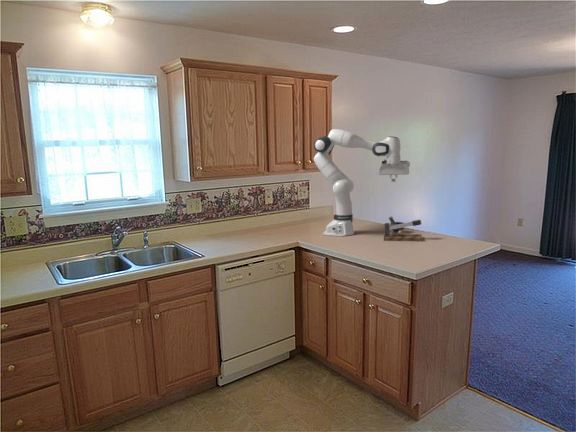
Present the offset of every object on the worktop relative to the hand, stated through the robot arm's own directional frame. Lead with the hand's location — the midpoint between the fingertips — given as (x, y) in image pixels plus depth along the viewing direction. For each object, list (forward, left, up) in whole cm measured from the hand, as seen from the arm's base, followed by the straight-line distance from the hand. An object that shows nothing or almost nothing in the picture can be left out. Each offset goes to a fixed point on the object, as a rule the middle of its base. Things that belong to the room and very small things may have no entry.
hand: (393, 181), depth 276 cm
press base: (+6, -10, -37) cm, 39 cm away
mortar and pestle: (+2, +9, -37) cm, 38 cm away
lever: (+8, -10, -29) cm, 32 cm away
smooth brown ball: (+5, -10, -35) cm, 37 cm away
